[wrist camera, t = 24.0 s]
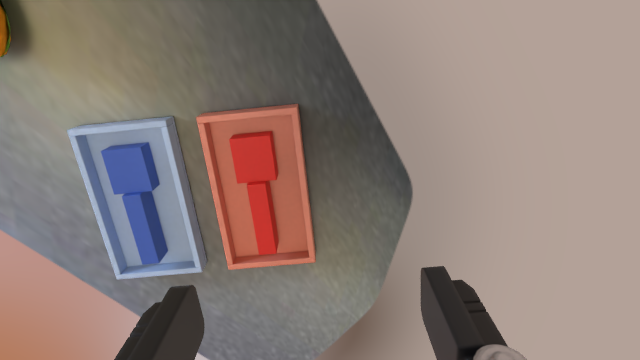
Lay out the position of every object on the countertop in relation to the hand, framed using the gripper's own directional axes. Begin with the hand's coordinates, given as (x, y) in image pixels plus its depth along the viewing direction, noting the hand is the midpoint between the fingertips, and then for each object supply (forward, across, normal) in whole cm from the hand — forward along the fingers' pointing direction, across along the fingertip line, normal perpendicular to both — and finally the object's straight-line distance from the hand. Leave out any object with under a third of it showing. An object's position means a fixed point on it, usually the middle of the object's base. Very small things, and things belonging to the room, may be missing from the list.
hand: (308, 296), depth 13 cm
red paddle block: (+24, +6, +6) cm, 26 cm away
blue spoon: (+24, +18, +6) cm, 31 cm away
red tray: (+25, +6, +6) cm, 26 cm away
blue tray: (+25, +18, +6) cm, 31 cm away
